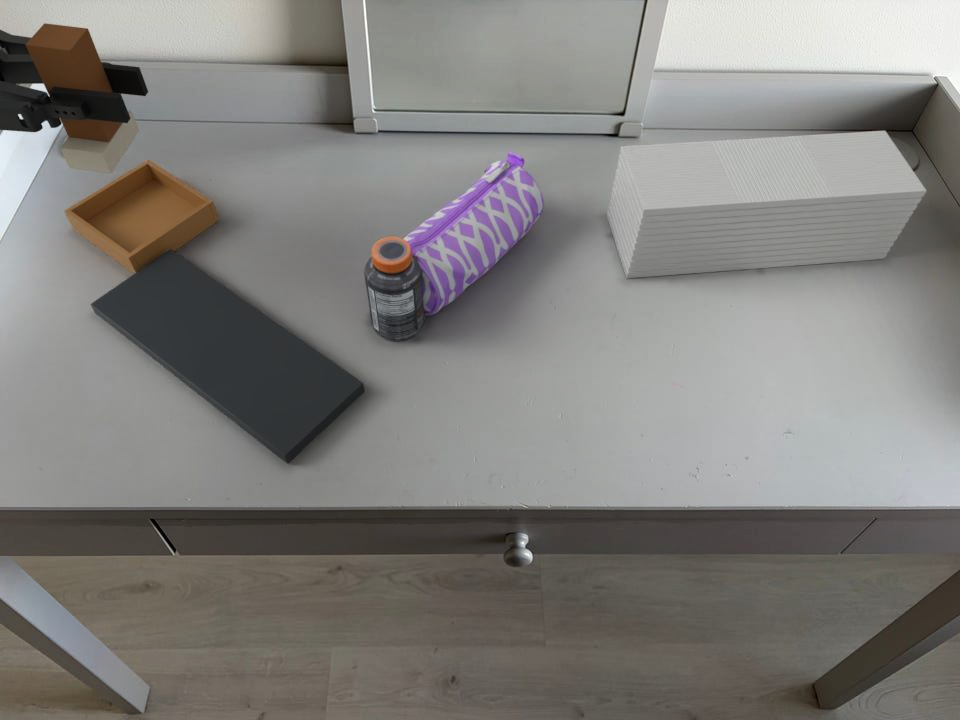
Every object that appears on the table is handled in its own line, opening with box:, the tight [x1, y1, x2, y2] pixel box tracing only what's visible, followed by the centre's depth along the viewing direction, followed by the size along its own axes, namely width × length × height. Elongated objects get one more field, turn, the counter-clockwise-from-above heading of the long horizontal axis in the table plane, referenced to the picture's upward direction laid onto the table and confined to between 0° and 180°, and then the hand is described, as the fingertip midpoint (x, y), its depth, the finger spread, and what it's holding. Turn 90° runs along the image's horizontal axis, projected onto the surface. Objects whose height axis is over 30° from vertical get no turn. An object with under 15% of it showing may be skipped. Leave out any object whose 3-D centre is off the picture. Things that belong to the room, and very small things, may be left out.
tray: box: [63, 159, 220, 275], centre depth 94 cm, size 12×12×3 cm
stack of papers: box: [606, 130, 927, 279], centre depth 92 cm, size 32×11×11 cm, turn 97°
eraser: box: [26, 22, 140, 174], centre depth 75 cm, size 7×4×12 cm, turn 172°
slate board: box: [90, 249, 365, 464], centre depth 83 cm, size 11×30×2 cm, turn 52°
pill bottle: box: [364, 236, 426, 342], centre depth 82 cm, size 6×6×11 cm
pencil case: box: [403, 150, 545, 316], centre depth 89 cm, size 22×9×10 cm, turn 145°
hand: (132, 94), depth 74 cm, fingers closed on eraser, 4 cm apart
